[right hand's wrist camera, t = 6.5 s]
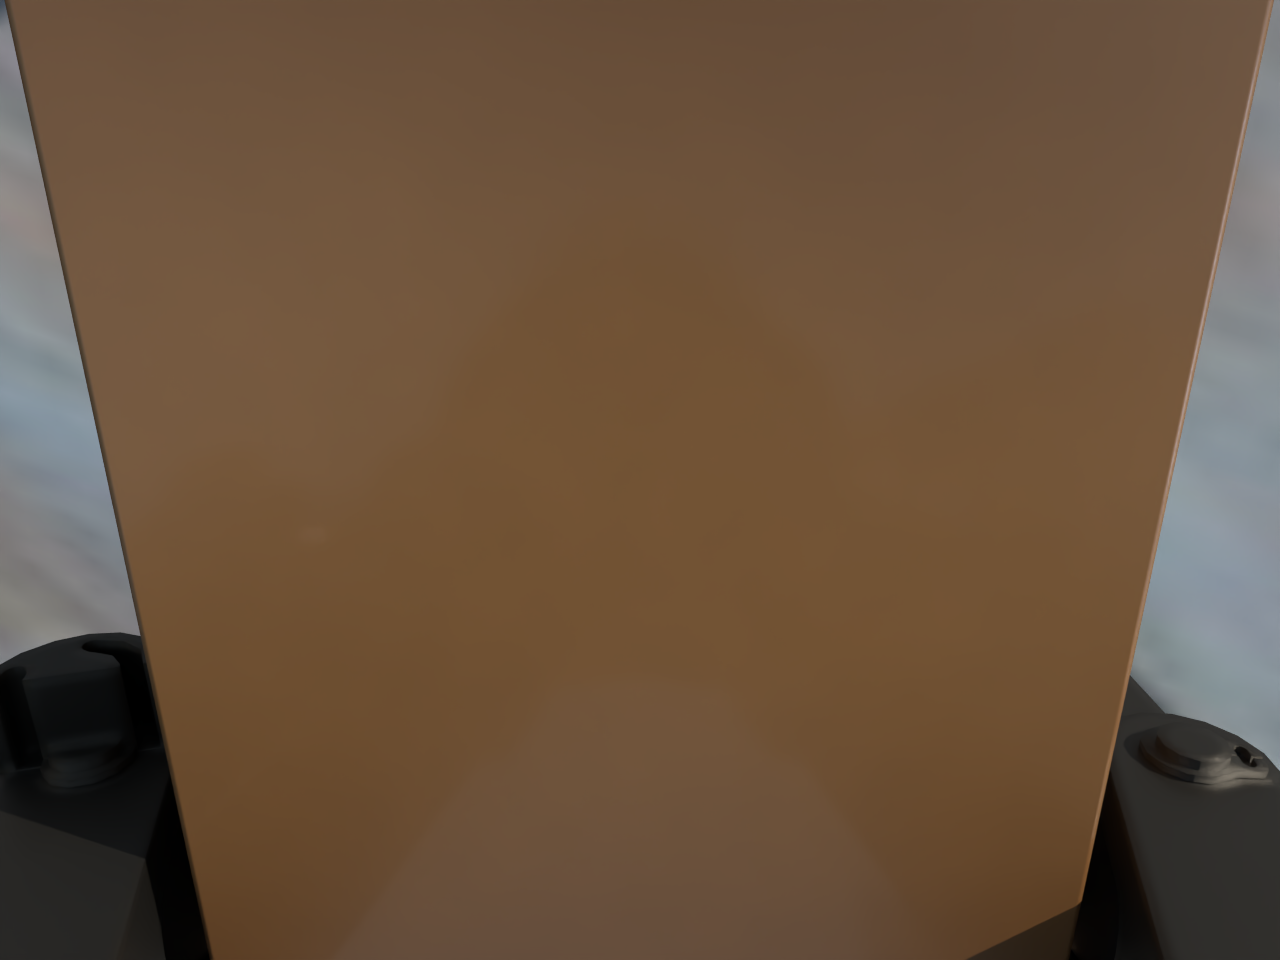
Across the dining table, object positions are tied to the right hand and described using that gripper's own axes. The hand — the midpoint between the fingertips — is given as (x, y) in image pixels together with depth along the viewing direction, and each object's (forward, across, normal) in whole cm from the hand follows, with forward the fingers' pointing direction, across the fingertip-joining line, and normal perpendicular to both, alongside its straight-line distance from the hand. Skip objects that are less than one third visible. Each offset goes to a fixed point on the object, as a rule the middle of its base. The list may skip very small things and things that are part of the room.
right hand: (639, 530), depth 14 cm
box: (+1, 0, -8) cm, 8 cm away
